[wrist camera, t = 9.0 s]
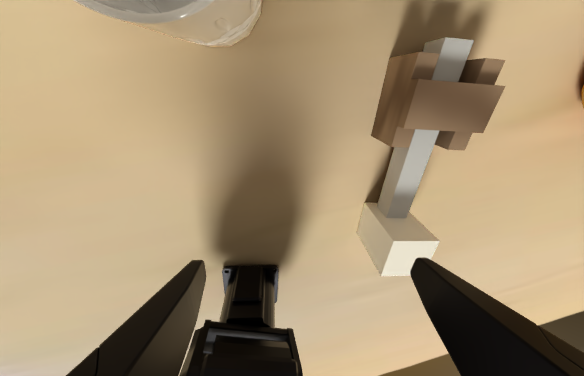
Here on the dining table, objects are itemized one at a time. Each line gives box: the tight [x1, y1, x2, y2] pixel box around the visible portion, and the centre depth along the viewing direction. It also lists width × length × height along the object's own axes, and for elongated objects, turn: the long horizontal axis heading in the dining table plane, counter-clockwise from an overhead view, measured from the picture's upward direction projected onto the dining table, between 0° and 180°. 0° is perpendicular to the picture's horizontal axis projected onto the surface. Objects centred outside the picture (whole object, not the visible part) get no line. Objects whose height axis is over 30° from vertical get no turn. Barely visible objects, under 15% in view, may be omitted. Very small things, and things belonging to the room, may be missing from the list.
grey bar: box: [357, 37, 474, 276], centre depth 17 cm, size 18×4×6 cm, turn 176°
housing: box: [371, 52, 505, 150], centre depth 14 cm, size 14×7×4 cm, turn 176°
